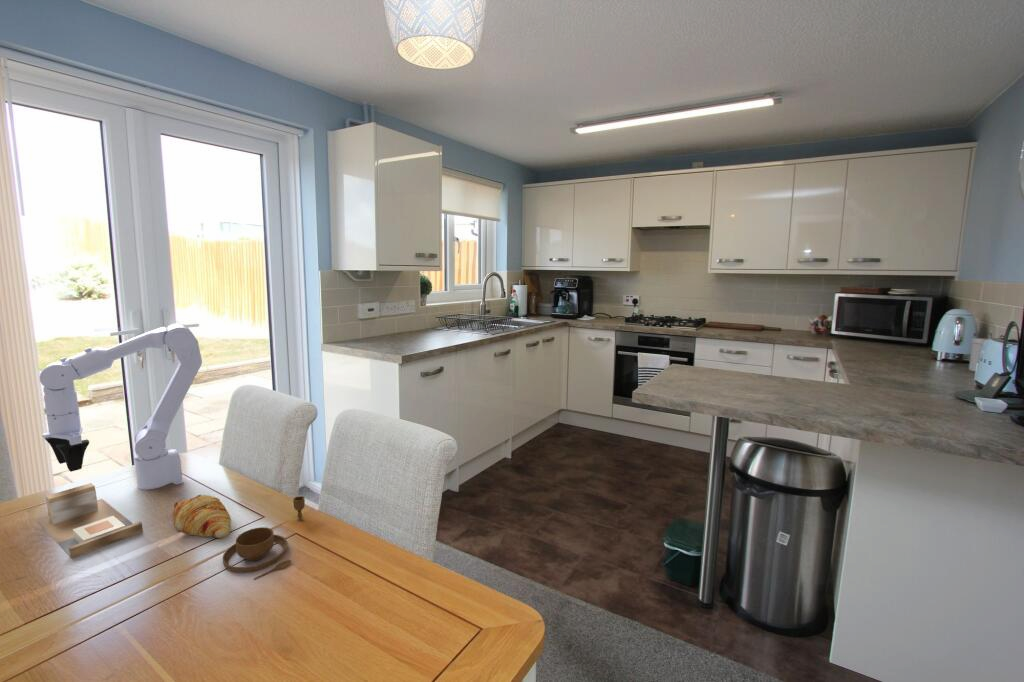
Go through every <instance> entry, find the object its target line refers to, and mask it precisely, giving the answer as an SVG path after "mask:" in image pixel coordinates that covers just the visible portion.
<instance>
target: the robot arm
mask: <svg viewBox="0 0 1024 682" xmlns="http://www.w3.org/2000/svg"><path fill="white" fill-rule="evenodd" d="M164 345H166V346H167V347H168V348H169V349H170V350H171V352H173V353H174V354H175V356H176V358H177V360H178V361H179V363H178V365H177V367H176V369H175V371H174V373H173V375H172V377H171V378H170V380H169V382H168V383H167V386H166V388H165V389H164V391H163V394H162V396H161V397H160V398H159V399H160V400H159V401H158V403H157V405H156V407H155V409H154V410H153V412H152V414H151V416H150V418H148V420H147V421H146V423H145V424H144V426H143V427H141V428H140V429H139V430H138V431H137V432H136V433H135V435H134V443H135V445H134V451H135V454H134V455H133V459H134V460H133V461H134V466H135V467H134V469H135V478H136V486H137V489H139V490H142V491H143V490H145V491H147V490H153V489H158V488H161V487H164V486H166V485H169V484H172V483H173V484H174V485H181V484H183V483H185V481H184V480H183V471H182V463H181V462H182V461H181V457H180V453H179V452H178V451H177V449H174V448H172V449H168V448H167V447H166V439H167V437H168V434H169V431H170V428H171V426H172V425H171V424H172V423H173V420H174V419H175V417H176V416H177V413H178V411H179V409H180V408H181V405H182V403H183V401H184V400H185V397H186V395H188V394H187V393H188V391H189V390H190V387H191V385H192V383H193V381H194V380H195V378H196V376H197V374H198V373H199V370H200V368H201V367H202V365H203V359H202V354H201V351H200V347H199V346H200V345H199V341H198V339H197V338H196V336H195V334H194V333H193V332H192V331H191V330H190V328H189V327H188V326H187V325H185V324H183V323H172V324H170V325H168V326H166V327H165V326H161V327H157V328H156V329H152V330H150V331H146V332H144V333H142V334H140V335H137V336H134V337H132V338H129V339H128V340H126V341H123V342H120V343H118V344H116V345H113V346H111V347H108V348H103V347H100V346H96V347H94V348H92V347H91V346H89V347H86V348H84V350H83V352H81V353H78V354H75V355H72V356H70V357H66V356H64V357H61V358H60V361H55V362H50V363H49V364H47V365H45V366H44V368H43V370H42V371H41V372H40V373H39V382H40V384H41V385H42V386H43V393H44V395H43V400H44V406H45V407H44V409H45V415H46V419H47V420H46V422H47V428H48V431H47V432H44V433H42V434H41V437H43V439H44V440H45V441H46V442H47V443H48V444H49V446H50V447H51V449H52V451H53V453H54V455H55V457H56V460H57V462H58V464H66V467H67V469H68V471H69V472H75V471H79V470H82V467H83V464H84V463H83V462H84V458H85V457H84V456H85V452H86V450H87V448H88V446H89V445H90V440H89V439H82V433H83V427H82V424H81V416H80V408H79V401H78V393H77V391H76V387H75V380H80V381H81V380H84V379H85V378H89V377H91V376H93V375H96V374H98V373H100V372H102V371H103V372H104V371H106V370H108V369H111V367H112V365H113V363H114V362H115V361H116V360H119V359H121V358H124V357H127V356H130V355H133V354H135V353H138V352H140V351H143V350H146V349H149V348H154V349H159V350H160V349H161V350H164V349H165V346H164Z"/></svg>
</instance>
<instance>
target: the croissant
mask: <svg viewBox="0 0 1024 682" xmlns="http://www.w3.org/2000/svg"><path fill="white" fill-rule="evenodd" d="M173 507H174V509H173V512H172V517H173V524H174V527H175V528H176V530H177V531H179V532H181V533H184V534H186V535H189V536H199V537H205V538H206V537H214V538H220V539H222V538H225V537H227V536H228V535H229V534H230V532H231V528H232V524H231V523H232V519H231V515H230V513H229V511H228V510H227V509H226V506H225V505H224V504H223V502H222V501H221V499H220V498H218V497H215V496H213V495H208V494H207V495H206V494H205V495H204V494H198V495H196V496H195V497H193V498H190V499H184V500H179V501H176V502H175V503H174V504H173Z"/></svg>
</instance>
